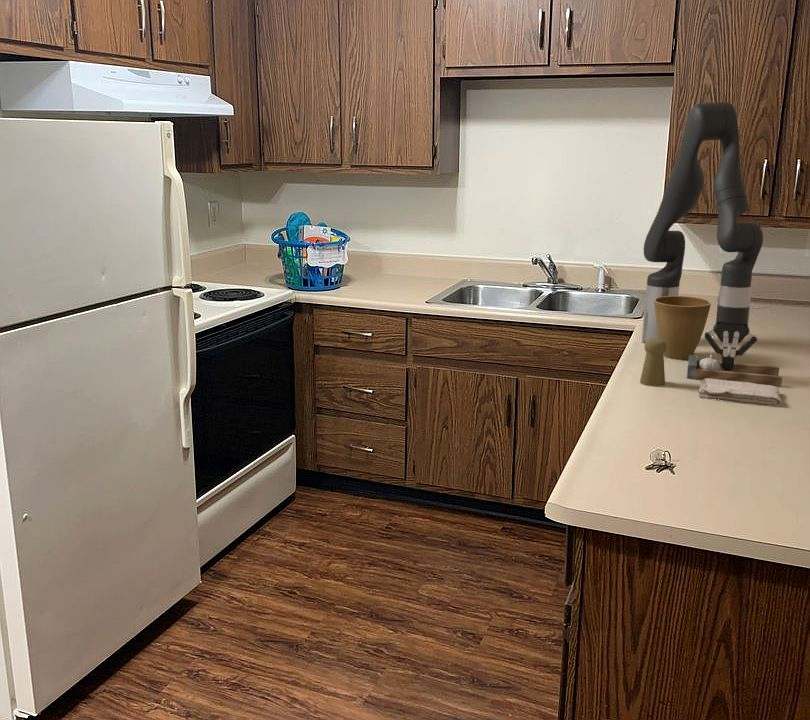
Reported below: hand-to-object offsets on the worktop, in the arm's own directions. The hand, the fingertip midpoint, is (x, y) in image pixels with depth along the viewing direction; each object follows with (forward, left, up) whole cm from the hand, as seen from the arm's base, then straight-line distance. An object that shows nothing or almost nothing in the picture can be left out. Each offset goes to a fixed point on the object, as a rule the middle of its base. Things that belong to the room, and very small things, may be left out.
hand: (727, 370), depth 209 cm
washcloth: (+2, -17, -2) cm, 17 cm away
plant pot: (-13, +17, -2) cm, 21 cm away
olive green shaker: (-18, -13, -2) cm, 22 cm away
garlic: (-4, 0, -2) cm, 5 cm away
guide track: (+1, 0, -2) cm, 2 cm away
